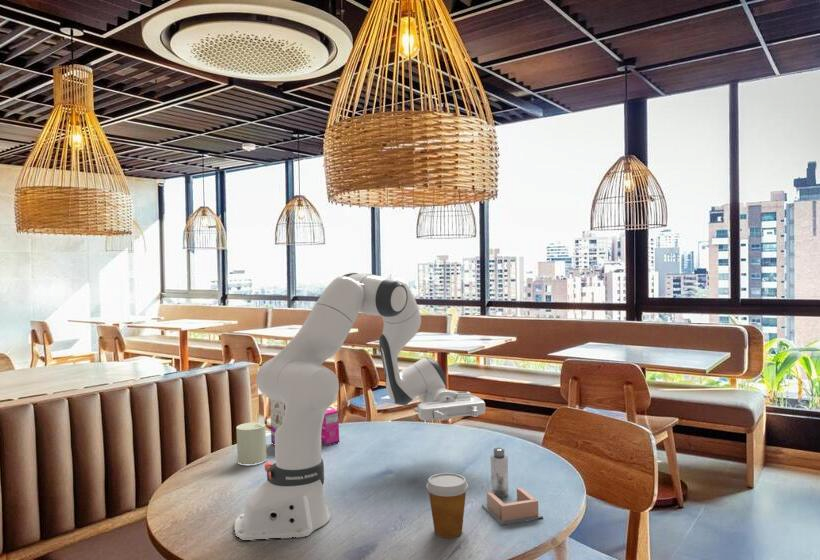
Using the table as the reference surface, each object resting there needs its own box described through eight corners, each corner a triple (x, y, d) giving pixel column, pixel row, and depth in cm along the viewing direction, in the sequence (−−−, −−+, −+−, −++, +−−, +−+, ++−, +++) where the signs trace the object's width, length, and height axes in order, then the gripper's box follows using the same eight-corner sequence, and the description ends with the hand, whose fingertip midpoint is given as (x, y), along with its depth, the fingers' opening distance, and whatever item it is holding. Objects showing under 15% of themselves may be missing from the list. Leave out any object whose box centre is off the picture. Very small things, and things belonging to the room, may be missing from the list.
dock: (500, 525, 132) (500, 508, 132) (482, 506, 143) (481, 490, 143) (543, 518, 135) (542, 501, 135) (521, 500, 146) (521, 485, 146)
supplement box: (316, 442, 200) (315, 410, 199) (331, 439, 204) (330, 407, 203) (325, 446, 195) (324, 413, 195) (340, 442, 199) (339, 410, 199)
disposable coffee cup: (466, 521, 135) (464, 471, 134) (471, 540, 125) (470, 486, 125) (426, 523, 134) (424, 472, 134) (428, 542, 125) (427, 488, 125)
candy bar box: (298, 447, 195) (297, 400, 194) (285, 451, 191) (284, 402, 191) (283, 440, 203) (282, 395, 203) (270, 443, 200) (269, 397, 200)
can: (259, 466, 176) (258, 428, 176) (231, 466, 178) (230, 428, 178) (271, 457, 186) (270, 420, 185) (245, 456, 187) (243, 420, 187)
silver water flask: (495, 498, 147) (494, 453, 147) (488, 492, 152) (487, 447, 151) (511, 496, 148) (510, 451, 148) (504, 490, 153) (503, 446, 153)
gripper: (411, 397, 171) (425, 408, 158) (474, 391, 177) (492, 401, 163) (412, 418, 171) (425, 430, 158) (474, 411, 177) (493, 422, 164)
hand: (460, 415), depth 161 cm, fingers open, 8 cm apart
